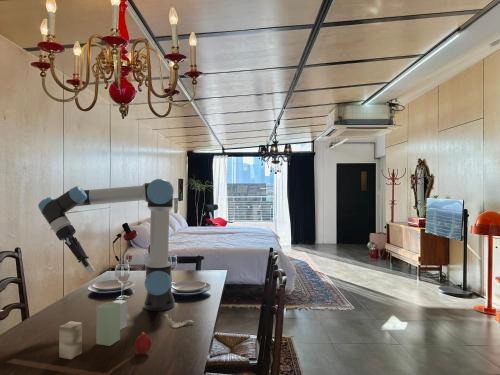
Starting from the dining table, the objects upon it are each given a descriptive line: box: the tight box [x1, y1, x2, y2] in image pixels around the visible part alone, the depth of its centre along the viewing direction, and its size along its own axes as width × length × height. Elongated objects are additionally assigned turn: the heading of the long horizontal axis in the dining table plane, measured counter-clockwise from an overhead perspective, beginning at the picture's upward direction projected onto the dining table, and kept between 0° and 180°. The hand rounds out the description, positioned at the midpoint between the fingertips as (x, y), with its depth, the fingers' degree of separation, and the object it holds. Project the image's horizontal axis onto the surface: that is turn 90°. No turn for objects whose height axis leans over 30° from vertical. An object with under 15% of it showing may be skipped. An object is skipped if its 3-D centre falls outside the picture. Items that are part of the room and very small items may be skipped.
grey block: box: [113, 299, 128, 331], centre depth 149 cm, size 5×5×12 cm
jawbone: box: [163, 313, 195, 329], centre depth 158 cm, size 9×20×2 cm, turn 53°
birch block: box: [58, 320, 83, 360], centre depth 123 cm, size 5×5×12 cm
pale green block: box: [95, 301, 121, 347], centre depth 135 cm, size 6×6×14 cm
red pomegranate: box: [134, 331, 152, 356], centre depth 127 cm, size 6×6×8 cm
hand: (92, 272), depth 155 cm, fingers closed
